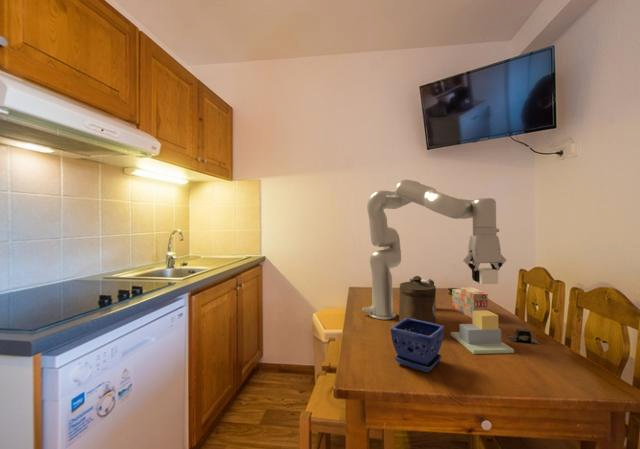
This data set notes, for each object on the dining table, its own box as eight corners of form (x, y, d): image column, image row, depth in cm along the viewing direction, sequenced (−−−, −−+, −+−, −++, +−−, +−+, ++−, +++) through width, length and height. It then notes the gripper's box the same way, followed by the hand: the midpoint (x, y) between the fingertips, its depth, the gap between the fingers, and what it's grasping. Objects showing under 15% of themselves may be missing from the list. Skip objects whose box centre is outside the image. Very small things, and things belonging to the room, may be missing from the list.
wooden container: (443, 332, 116) (443, 278, 116) (410, 336, 113) (410, 280, 112) (423, 320, 130) (422, 272, 130) (393, 323, 127) (392, 274, 127)
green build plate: (473, 353, 97) (473, 350, 97) (450, 335, 113) (450, 332, 113) (513, 352, 97) (513, 349, 97) (485, 334, 113) (485, 331, 113)
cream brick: (472, 280, 107) (472, 267, 107) (488, 280, 108) (488, 267, 108) (481, 284, 101) (481, 270, 101) (498, 284, 102) (498, 270, 102)
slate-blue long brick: (468, 344, 102) (468, 330, 102) (459, 337, 108) (459, 324, 108) (501, 343, 102) (501, 329, 102) (490, 336, 108) (490, 323, 108)
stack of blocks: (451, 306, 151) (451, 283, 150) (463, 306, 151) (463, 283, 151) (474, 320, 129) (474, 293, 129) (488, 320, 129) (487, 293, 129)
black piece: (538, 340, 109) (538, 328, 109) (547, 348, 102) (547, 335, 102) (501, 336, 112) (501, 324, 112) (507, 344, 105) (508, 331, 105)
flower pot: (406, 350, 100) (406, 316, 100) (445, 361, 92) (445, 324, 92) (389, 364, 90) (389, 327, 90) (432, 379, 82) (432, 337, 82)
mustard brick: (481, 329, 102) (481, 315, 102) (472, 323, 108) (472, 310, 108) (498, 329, 102) (498, 315, 102) (488, 323, 108) (487, 310, 108)
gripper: (500, 231, 108) (501, 278, 109) (456, 232, 108) (456, 279, 108) (514, 231, 101) (515, 282, 101) (466, 232, 100) (467, 283, 101)
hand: (484, 280), depth 105 cm, fingers closed on cream brick, 6 cm apart
